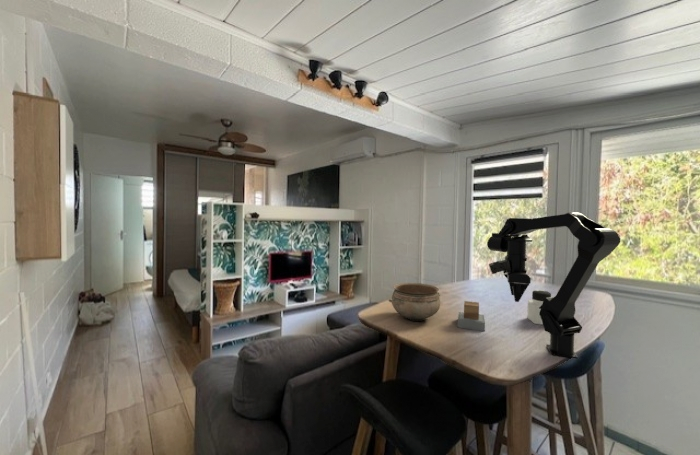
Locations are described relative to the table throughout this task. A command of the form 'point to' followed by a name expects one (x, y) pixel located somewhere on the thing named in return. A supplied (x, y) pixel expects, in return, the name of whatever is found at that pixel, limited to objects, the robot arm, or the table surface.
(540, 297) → the medicine bottle
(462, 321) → the grey-green flat square block
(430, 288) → the cooking pot
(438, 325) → the table surface
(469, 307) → the walnut cube
